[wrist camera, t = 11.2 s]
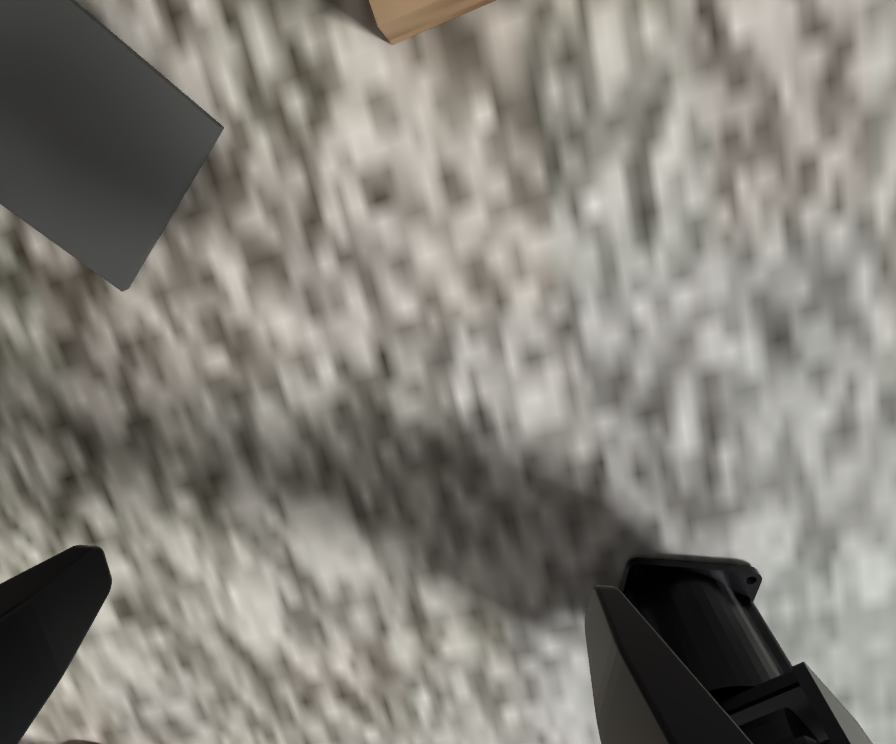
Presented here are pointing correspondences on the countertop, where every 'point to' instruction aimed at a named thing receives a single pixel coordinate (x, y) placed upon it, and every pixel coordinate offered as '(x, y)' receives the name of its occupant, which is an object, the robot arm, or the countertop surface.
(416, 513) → the countertop surface
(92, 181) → the mat
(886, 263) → the countertop surface
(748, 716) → the robot arm
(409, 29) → the tray
